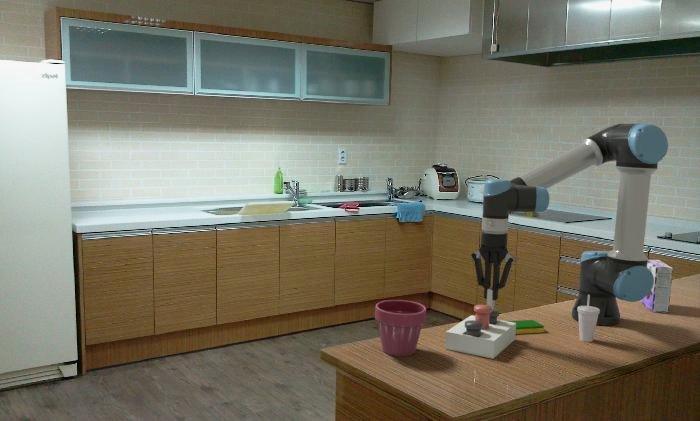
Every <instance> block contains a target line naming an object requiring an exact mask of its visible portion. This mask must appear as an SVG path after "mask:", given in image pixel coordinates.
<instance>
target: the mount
mask: <svg viewBox="0 0 700 421" xmlns="http://www.w3.org/2000/svg"><path fill="white" fill-rule="evenodd" d="M469 320H474V321H475V315H472V314H471V315H470V316H468V317H466V318H465V319H463V320H462V321H460V322H458V323H457V324H455V325H454V326H452V327H451V328H450V329H449V328H448V330H446V331H445V346H444V348H445V350H449V351H454V352H458V353H463V354H469V355H474V356H478V357H482V358H483V357H484V358H487V359H492V360H493V359H495V358H496V357H497V356H498V355H499V354H501V353H502V352H503V351H504V350H505V349H506V348H508V346H510V345H511V344H512V343H513V342H514V341H515V340H516V323H513V322H507V321H508V320H502V319H501V320H500V319H497V324H496V325H493V324H489V329H481V336H480V337H474V336H469V335H466V328H465V321H469Z"/></svg>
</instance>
